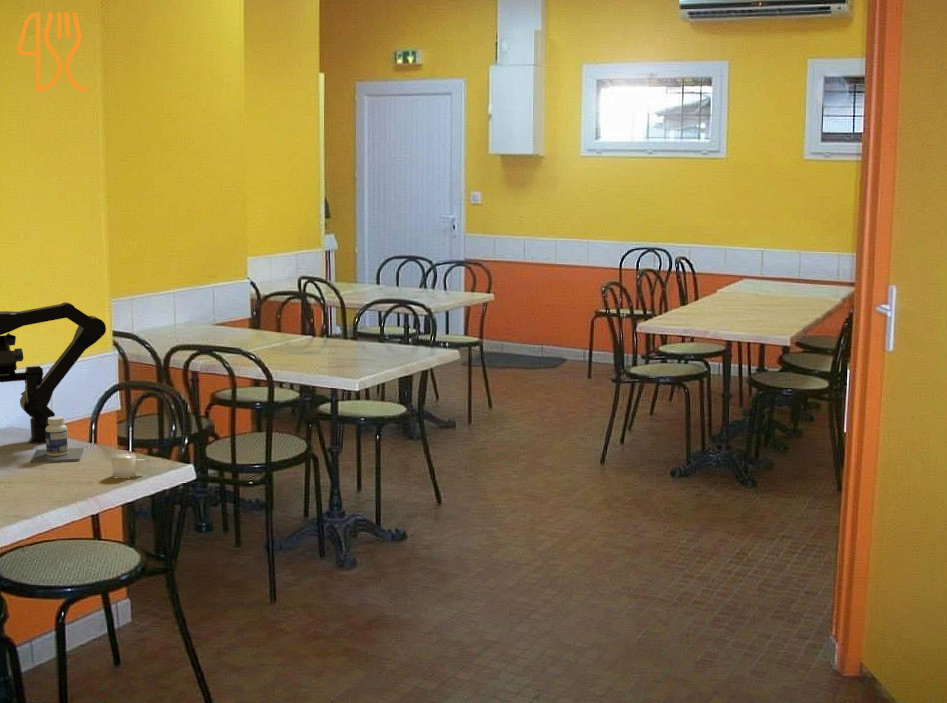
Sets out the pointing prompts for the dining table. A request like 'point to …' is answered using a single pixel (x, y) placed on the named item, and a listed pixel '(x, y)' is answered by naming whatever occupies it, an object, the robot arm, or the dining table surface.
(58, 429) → the pill bottle
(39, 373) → the robot arm
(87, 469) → the dining table surface
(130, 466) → the espresso cup
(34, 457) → the slate coaster
